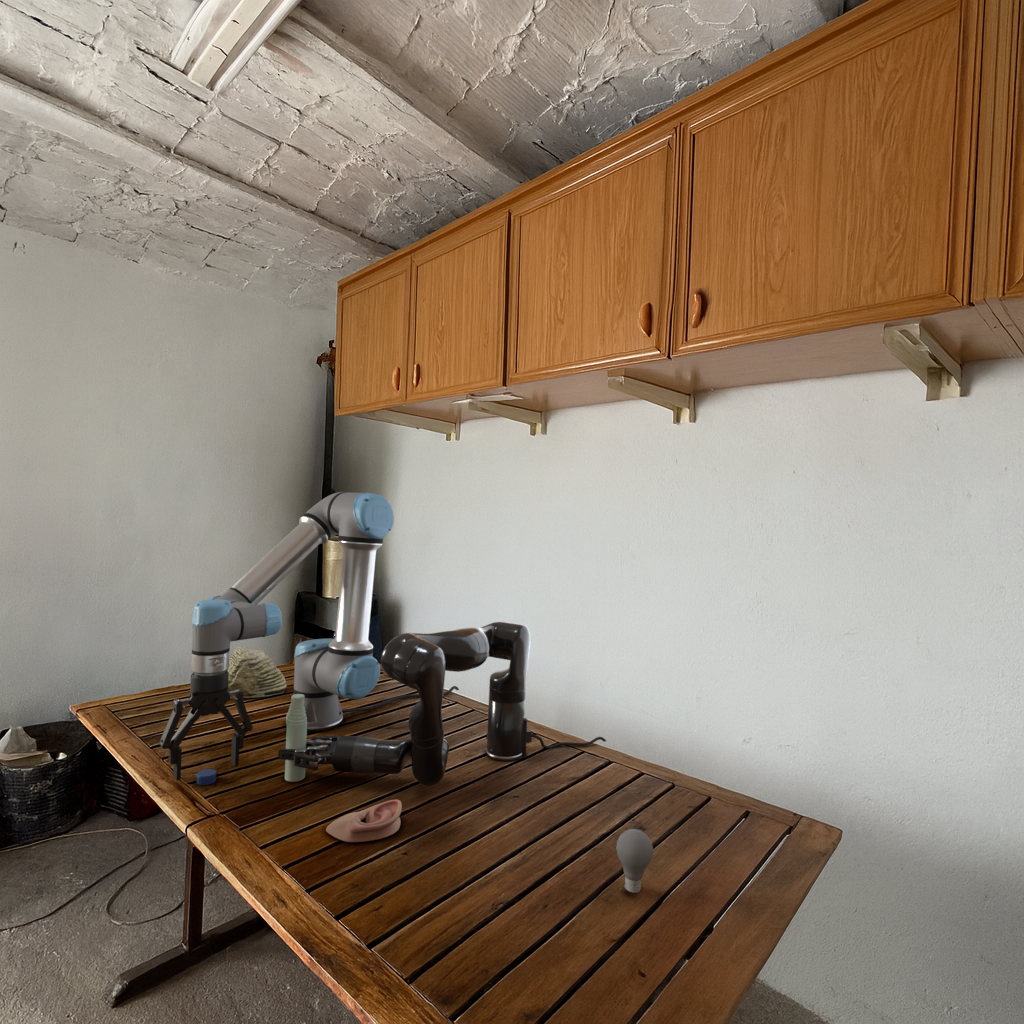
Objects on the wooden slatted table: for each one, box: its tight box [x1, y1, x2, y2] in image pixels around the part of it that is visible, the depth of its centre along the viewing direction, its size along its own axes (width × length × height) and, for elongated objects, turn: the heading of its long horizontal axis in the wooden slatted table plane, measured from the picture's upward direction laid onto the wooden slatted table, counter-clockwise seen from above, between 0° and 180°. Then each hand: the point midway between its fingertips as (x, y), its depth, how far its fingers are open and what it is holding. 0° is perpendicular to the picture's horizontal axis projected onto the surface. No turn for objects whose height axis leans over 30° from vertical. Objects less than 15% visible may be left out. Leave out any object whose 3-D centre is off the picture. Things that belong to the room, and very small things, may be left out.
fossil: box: [227, 646, 288, 699], centre depth 198 cm, size 9×18×15 cm, turn 132°
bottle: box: [284, 694, 308, 783], centre depth 142 cm, size 4×4×18 cm
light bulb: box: [615, 828, 654, 894], centre depth 106 cm, size 6×6×10 cm
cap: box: [195, 768, 218, 786], centre depth 139 cm, size 4×4×2 cm
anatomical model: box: [325, 799, 403, 843], centre depth 122 cm, size 13×4×12 cm
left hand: (206, 770), depth 139 cm, fingers open, 11 cm apart
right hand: (284, 749), depth 142 cm, fingers closed on bottle, 4 cm apart
